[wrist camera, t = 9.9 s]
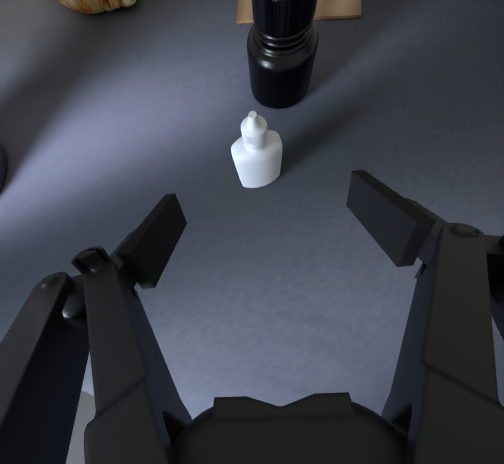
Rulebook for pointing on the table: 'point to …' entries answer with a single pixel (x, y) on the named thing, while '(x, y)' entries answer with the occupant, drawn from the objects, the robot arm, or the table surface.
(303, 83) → the ink bottle
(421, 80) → the table surface
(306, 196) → the table surface
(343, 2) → the wooden board
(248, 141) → the eye dropper bottle
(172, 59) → the table surface
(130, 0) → the croissant
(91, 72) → the table surface
